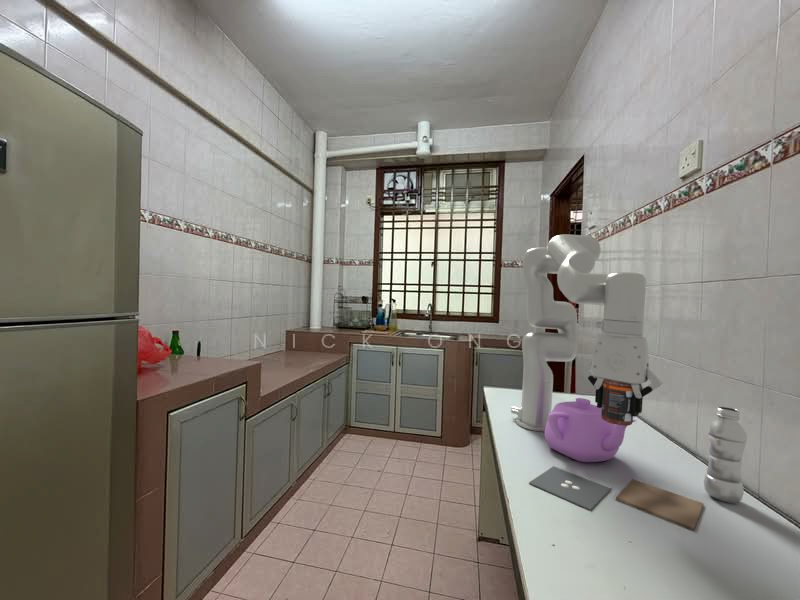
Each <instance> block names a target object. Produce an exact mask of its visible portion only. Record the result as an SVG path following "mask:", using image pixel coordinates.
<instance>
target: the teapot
mask: <svg viewBox="0 0 800 600" xmlns="http://www.w3.org/2000/svg"><path fill="white" fill-rule="evenodd" d="M601 411H602V408H597V405H595V404H593V403H592V402H591V400H589V399H588V398H587V399H586V398H582V397H578V398H575V401H562V402H558V403H556V404H555V405H554V407H553V408H552V409H551V413H550V414H549V416H548V421H547V424H546V428H545V432H544V438H545V441H546V443H547V444H548V446H549V447H550V448H551V449H553V450H554V451H556V452H558V453H560V454H562V455H565V457H569V458H571V459H574V460H576V461H578V462H581V461H582V462H581V463H596V462H598V463H600V462H603V461H609V460H610V459H612V458H613V457H614V456H615V455H616V454H617V453H618V452H619V449H620V447H621V445H622V444H623V442H624V438H625V432H626V428H627V427H628V426H623V425H616V424H612V423H609V422H606V421H605V420H603V419H602V417H601V415H602V414H601ZM635 422H637V420H636V419H633V423H635Z"/></svg>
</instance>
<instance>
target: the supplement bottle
mask: <svg viewBox="0 0 800 600" xmlns="http://www.w3.org/2000/svg"><path fill="white" fill-rule="evenodd" d="M632 397H634V392H633V389H632V386H631V384H627V383H621V382H616V381H611V380H606V379H605V380H604V382H603V395H602V411H601V414H602V415H601V417H602V419H603V420H605V421H606V422H609V423H612V424H616V425H623V426H627V427H628V426H631V425H632V424H633V423H634V422H633V420H634V417H633V416H632V415H631V403H632Z"/></svg>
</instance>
